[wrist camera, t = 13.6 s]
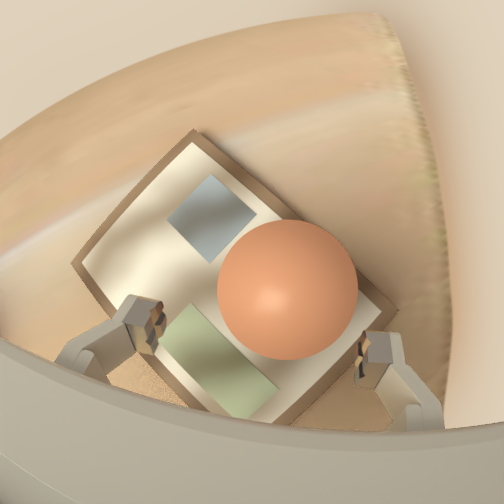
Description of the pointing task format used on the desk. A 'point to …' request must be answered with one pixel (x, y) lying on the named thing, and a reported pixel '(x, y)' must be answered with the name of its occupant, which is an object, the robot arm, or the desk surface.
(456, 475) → the robot arm
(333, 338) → the orange topped grey cylinder
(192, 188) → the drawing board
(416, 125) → the desk surface
